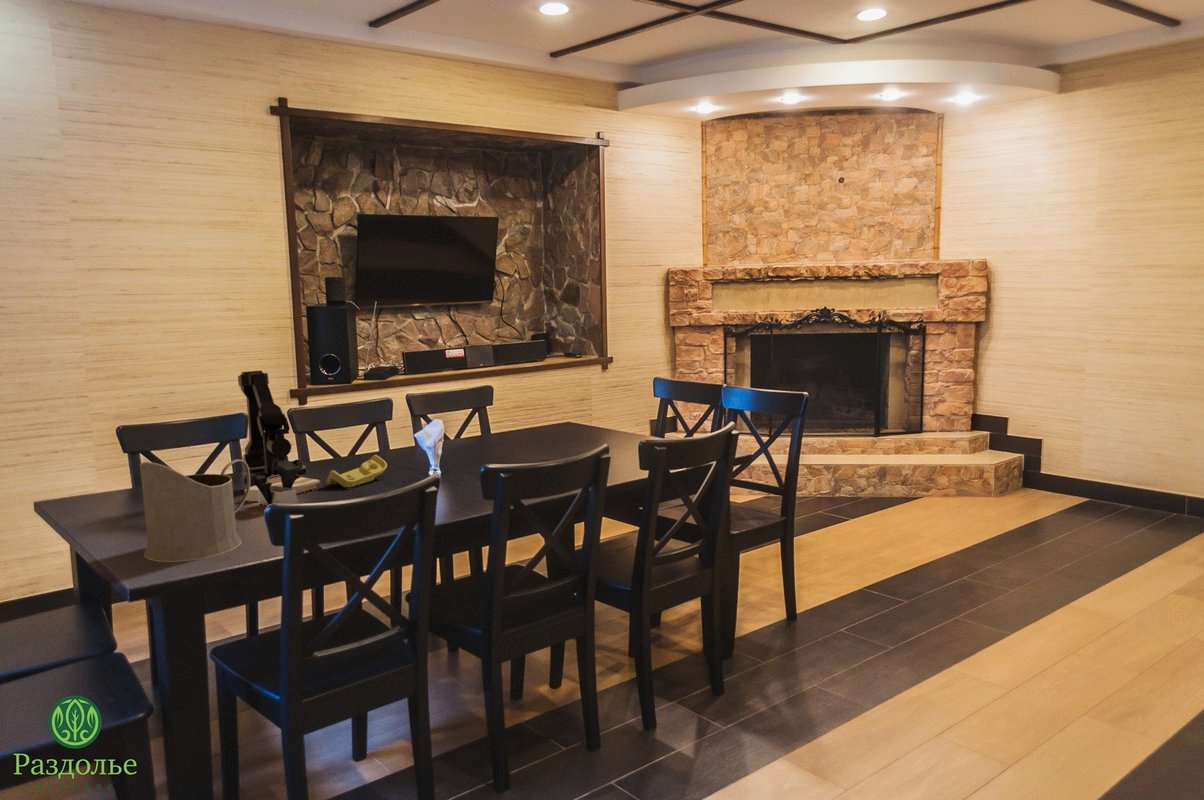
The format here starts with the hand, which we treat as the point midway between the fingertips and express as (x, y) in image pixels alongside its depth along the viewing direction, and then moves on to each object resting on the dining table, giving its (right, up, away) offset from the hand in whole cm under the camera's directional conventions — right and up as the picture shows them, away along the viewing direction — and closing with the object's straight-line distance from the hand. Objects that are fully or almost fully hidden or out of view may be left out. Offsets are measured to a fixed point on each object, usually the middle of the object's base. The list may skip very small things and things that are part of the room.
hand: (278, 501), depth 278 cm
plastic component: (+18, +3, +28) cm, 33 cm away
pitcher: (-5, -7, -38) cm, 39 cm away
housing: (0, -1, 0) cm, 1 cm away
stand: (-1, +1, +16) cm, 16 cm away
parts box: (-9, 0, +8) cm, 12 cm away
